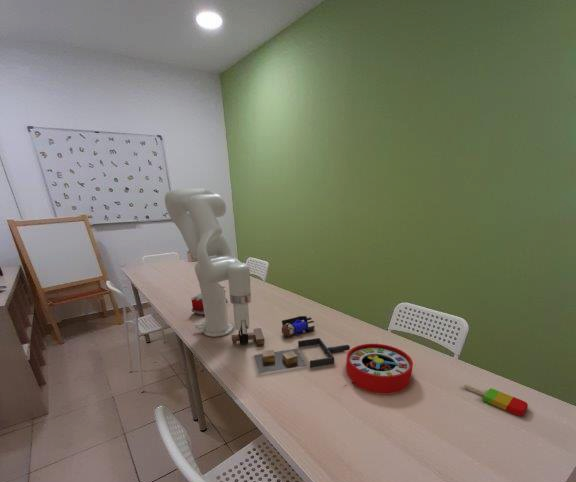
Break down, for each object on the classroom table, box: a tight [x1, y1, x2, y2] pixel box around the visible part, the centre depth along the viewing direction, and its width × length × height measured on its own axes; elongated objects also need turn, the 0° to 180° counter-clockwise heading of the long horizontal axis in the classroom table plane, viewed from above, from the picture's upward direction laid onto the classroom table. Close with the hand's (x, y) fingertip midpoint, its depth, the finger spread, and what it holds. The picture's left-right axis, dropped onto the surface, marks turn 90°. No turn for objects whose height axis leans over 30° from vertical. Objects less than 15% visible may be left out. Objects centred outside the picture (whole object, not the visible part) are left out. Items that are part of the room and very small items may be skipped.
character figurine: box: [281, 315, 316, 337], centre depth 123 cm, size 8×7×15 cm
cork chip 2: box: [282, 351, 298, 365], centre depth 103 cm, size 4×4×2 cm
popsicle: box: [463, 384, 529, 417], centre depth 84 cm, size 6×15×2 cm, turn 42°
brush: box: [230, 327, 266, 347], centre depth 116 cm, size 12×9×3 cm
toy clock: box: [345, 343, 414, 395], centre depth 96 cm, size 20×6×20 cm
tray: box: [254, 348, 307, 374], centre depth 105 cm, size 16×12×1 cm
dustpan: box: [297, 337, 351, 368], centre depth 108 cm, size 18×15×3 cm
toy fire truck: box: [190, 286, 229, 315], centre depth 151 cm, size 9×19×10 cm, turn 148°
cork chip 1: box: [261, 349, 275, 363], centre depth 105 cm, size 4×4×2 cm
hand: (243, 341), depth 116 cm, fingers closed on brush, 2 cm apart
